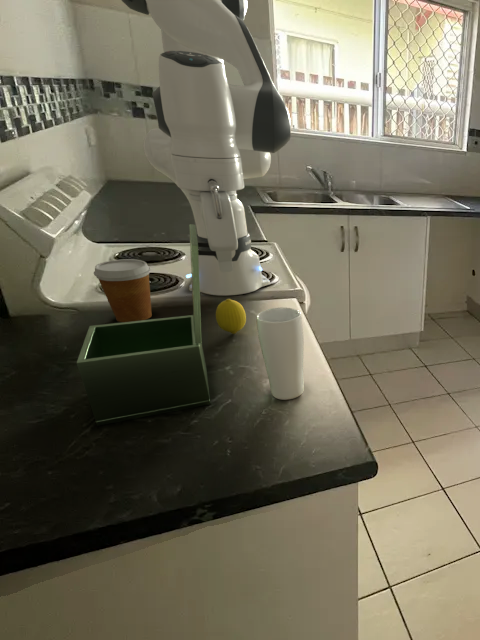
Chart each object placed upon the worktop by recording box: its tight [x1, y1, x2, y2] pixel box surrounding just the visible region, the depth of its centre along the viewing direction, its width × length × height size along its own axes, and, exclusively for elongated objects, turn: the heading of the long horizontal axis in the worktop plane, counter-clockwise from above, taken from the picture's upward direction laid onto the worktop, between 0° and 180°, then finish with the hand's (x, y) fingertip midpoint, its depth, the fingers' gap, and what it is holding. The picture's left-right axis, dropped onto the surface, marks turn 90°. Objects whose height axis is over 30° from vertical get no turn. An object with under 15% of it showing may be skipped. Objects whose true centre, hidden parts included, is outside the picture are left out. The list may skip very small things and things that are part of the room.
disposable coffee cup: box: [93, 258, 153, 323], centre depth 102 cm, size 10×10×12 cm
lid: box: [188, 224, 217, 343], centre depth 77 cm, size 16×14×5 cm
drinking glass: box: [255, 307, 305, 401], centre depth 80 cm, size 7×7×15 cm
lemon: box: [215, 298, 247, 335], centre depth 100 cm, size 6×6×8 cm
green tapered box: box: [76, 314, 211, 427], centre depth 77 cm, size 15×14×11 cm
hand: (224, 264), depth 77 cm, fingers closed on lid, 6 cm apart
